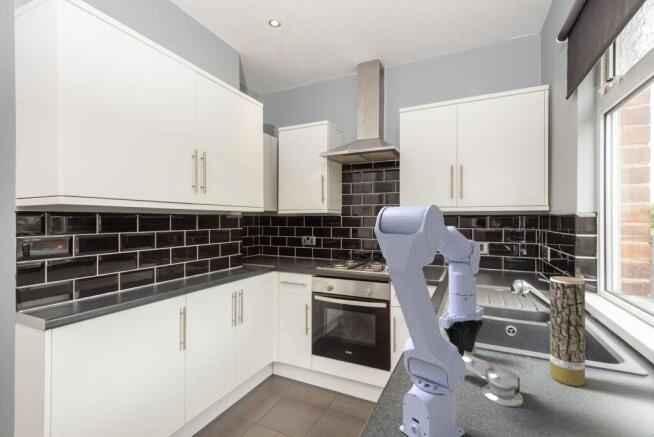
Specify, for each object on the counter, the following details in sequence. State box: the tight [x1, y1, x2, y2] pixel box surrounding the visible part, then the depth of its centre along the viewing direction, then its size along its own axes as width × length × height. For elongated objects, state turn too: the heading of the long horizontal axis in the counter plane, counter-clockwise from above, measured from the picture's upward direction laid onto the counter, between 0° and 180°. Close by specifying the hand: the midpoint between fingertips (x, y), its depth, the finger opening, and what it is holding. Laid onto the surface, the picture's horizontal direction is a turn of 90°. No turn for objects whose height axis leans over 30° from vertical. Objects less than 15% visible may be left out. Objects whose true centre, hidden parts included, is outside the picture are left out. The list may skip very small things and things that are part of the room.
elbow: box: [463, 353, 519, 391], centre depth 73 cm, size 15×6×4 cm, turn 35°
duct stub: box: [481, 376, 524, 408], centre depth 70 cm, size 9×8×4 cm
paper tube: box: [549, 275, 586, 387], centre depth 76 cm, size 7×7×25 cm
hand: (462, 353), depth 69 cm, fingers open, 3 cm apart
